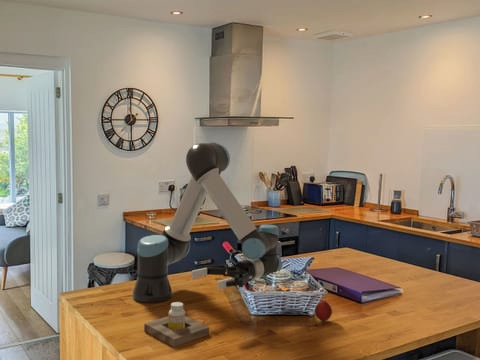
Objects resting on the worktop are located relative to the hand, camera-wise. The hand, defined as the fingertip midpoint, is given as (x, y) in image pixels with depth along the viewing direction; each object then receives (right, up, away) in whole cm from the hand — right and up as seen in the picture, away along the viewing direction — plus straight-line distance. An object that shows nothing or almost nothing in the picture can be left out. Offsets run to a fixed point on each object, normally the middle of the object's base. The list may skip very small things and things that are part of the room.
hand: (204, 279), depth 163 cm
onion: (+41, -16, +5) cm, 44 cm away
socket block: (-9, -16, -7) cm, 19 cm away
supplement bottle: (-9, -16, -7) cm, 19 cm away
